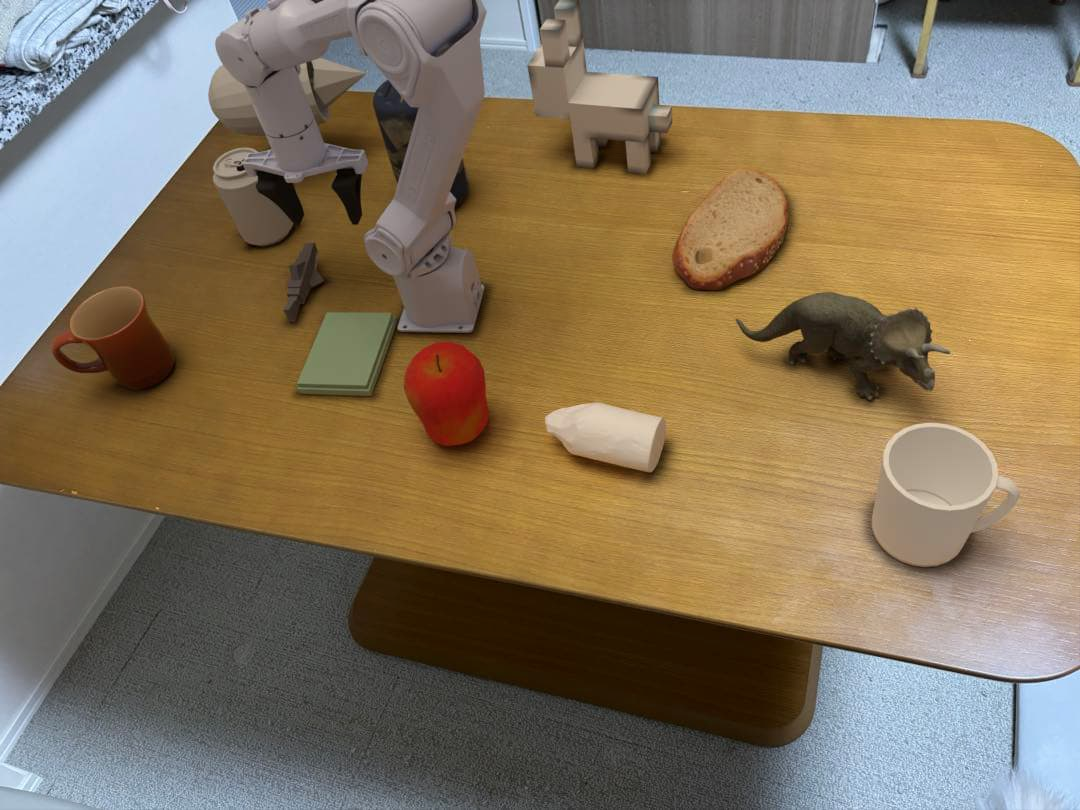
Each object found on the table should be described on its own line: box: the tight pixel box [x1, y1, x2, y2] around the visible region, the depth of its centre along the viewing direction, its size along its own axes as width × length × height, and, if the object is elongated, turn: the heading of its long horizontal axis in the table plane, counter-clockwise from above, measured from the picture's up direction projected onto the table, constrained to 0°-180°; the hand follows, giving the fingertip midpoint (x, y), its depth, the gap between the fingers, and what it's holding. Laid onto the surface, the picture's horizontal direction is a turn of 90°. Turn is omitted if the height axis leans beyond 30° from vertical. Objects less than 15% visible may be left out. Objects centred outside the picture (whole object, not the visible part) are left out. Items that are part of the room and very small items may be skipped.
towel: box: [296, 311, 398, 397], centre depth 107 cm, size 9×12×2 cm
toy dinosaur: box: [735, 291, 952, 401], centre depth 91 cm, size 22×8×11 cm, turn 49°
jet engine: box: [207, 57, 367, 137], centre depth 128 cm, size 15×20×18 cm
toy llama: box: [526, 0, 673, 175], centre depth 118 cm, size 8×18×20 cm, turn 69°
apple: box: [403, 340, 490, 447], centre depth 93 cm, size 9×8×12 cm
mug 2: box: [871, 422, 1020, 568], centre depth 78 cm, size 11×9×10 cm
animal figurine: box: [282, 242, 325, 323], centre depth 114 cm, size 12×4×5 cm, turn 171°
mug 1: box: [50, 285, 175, 390], centre depth 106 cm, size 12×9×10 cm
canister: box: [372, 79, 469, 208], centre depth 118 cm, size 10×10×18 cm
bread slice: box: [671, 167, 789, 291], centre depth 110 cm, size 18×18×4 cm
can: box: [212, 147, 294, 247], centre depth 121 cm, size 8×8×12 cm
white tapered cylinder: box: [544, 401, 667, 473], centre depth 91 cm, size 6×12×6 cm, turn 68°
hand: (328, 219), depth 109 cm, fingers open, 7 cm apart
